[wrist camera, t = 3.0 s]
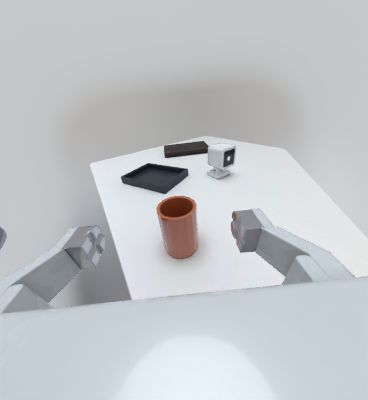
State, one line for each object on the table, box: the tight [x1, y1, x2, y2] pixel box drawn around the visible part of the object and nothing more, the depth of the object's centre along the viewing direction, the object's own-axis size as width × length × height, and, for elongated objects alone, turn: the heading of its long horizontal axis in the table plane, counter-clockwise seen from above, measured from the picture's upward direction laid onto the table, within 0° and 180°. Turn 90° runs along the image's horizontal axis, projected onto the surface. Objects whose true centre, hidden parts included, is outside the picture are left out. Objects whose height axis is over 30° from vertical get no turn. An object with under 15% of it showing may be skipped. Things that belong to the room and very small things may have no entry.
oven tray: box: [121, 163, 188, 194], centre depth 53 cm, size 19×14×2 cm
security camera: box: [207, 143, 236, 179], centre depth 50 cm, size 6×7×10 cm
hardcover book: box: [164, 141, 209, 158], centre depth 80 cm, size 16×23×2 cm
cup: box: [157, 196, 198, 259], centre depth 26 cm, size 6×6×9 cm
